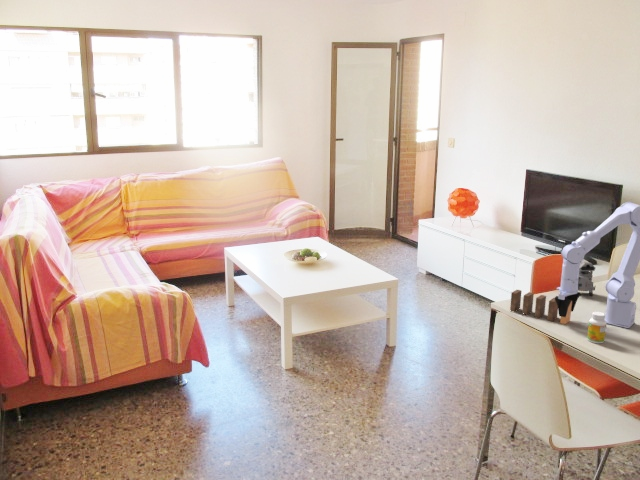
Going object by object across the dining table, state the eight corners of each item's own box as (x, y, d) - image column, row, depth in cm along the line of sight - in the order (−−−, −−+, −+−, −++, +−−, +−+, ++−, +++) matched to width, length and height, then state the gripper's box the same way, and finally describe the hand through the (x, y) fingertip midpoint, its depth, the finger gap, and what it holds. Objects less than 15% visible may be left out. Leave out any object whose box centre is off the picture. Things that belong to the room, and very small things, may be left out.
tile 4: (531, 311, 231) (533, 293, 230) (526, 315, 228) (528, 296, 226) (527, 310, 233) (529, 292, 231) (522, 314, 229) (523, 295, 227)
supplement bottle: (583, 338, 205) (586, 311, 203) (595, 336, 207) (598, 310, 205) (595, 344, 201) (598, 317, 198) (608, 342, 202) (611, 315, 200)
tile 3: (544, 314, 228) (546, 295, 227) (539, 318, 225) (541, 299, 223) (539, 313, 229) (541, 294, 228) (534, 317, 226) (536, 298, 224)
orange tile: (570, 320, 222) (572, 301, 220) (565, 324, 219) (567, 304, 217) (565, 319, 223) (567, 300, 222) (560, 323, 220) (562, 303, 218)
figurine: (570, 298, 248) (573, 263, 244) (569, 290, 258) (572, 256, 255) (594, 300, 244) (598, 265, 241) (592, 292, 255) (596, 258, 252)
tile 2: (557, 317, 225) (559, 298, 224) (552, 321, 222) (554, 301, 220) (552, 316, 226) (554, 297, 225) (547, 320, 223) (549, 300, 221)
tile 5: (519, 308, 234) (521, 290, 233) (514, 312, 231) (516, 293, 229) (515, 307, 236) (517, 289, 234) (510, 311, 232) (511, 292, 230)
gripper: (565, 271, 225) (562, 306, 228) (551, 280, 214) (547, 316, 217) (585, 275, 220) (581, 310, 224) (571, 284, 210) (567, 320, 213)
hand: (566, 313), depth 220 cm, fingers open, 7 cm apart
